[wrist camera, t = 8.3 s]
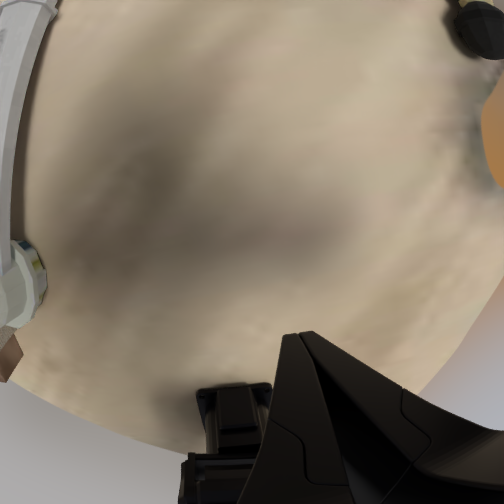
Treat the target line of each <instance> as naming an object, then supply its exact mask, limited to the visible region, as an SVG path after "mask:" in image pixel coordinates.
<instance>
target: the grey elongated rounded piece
mask: <svg viewBox="0 0 504 504" xmlns="http://www.w3.org/2000/svg"><path fill="white" fill-rule="evenodd" d="M56 3H57V0H6V1H3V2H2V3H1V5H0V328H1V327H3V326H4V325H7V326H11V327H15V328H21V327H22V326H24V325H25V324H26V323H28V322H29V321H31V320H32V319H33V318H34V316H35V312H36V309H37V307H38V306H39V305H40V304H41V303H42V298H43V295H44V292H45V289H46V288H47V280H46V269H43V267H42V265H41V262H40V260H39V258H38V255H37V251H36V250H35V249H34V248H32V247H31V246H30V245H29V244H28V243H27V242H26V241H20V240H10V204H11V186H12V174H13V164H14V155H15V147H16V141H17V134H18V128H19V123H20V117H21V112H22V108H23V103H24V99H25V94H26V90H27V86H28V82H29V79H30V75H31V71H32V68H33V65H34V61H35V58H36V55H37V52H38V49H39V46H40V43H41V40H42V37H43V35H44V32H45V29H46V27H47V24H49V23H50V22H51V21H52V19H53V18H54V17H55V16H56V14H57V12H58V10H57V9H56V8H55V5H56Z"/></svg>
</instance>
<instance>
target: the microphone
mask: <svg viewBox="0 0 504 504" xmlns="http://www.w3.org/2000/svg"><path fill="white" fill-rule="evenodd" d="M458 2H459V4H460V6H461V7H462V9H461V10H460V11H459V12H458V17H457V18H456V19H455V20H454V23H455V26H456V29H457V31H458V33H459V35H460V36H461V37H464V39H465V41H466V43H467V45H468V46H469V48H470V49H471V51H472V52H474V53H476V54H478V55H479V56H481V57H483V58H486V59H490V60H500V59H504V13H503V12H502V11H501V10H499V9H498V8H496V7H494V4H493V0H458Z"/></svg>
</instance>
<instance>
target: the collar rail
mask: <svg viewBox="0 0 504 504" xmlns="http://www.w3.org/2000/svg"><path fill="white" fill-rule="evenodd" d="M16 329H17V328H15V327H11V326H7V325H4V326H3V327H1V328H0V382H5V383H6V382H7V381H8V379H9V377H10V376H11V374H12V372H13V371H14V369H15V367H16V366H17V364H18V363H19V361H20V360H21V358H22V356H23V353H22V351H21V348H20V346H19V344H18V342H17V340H16V338H15V336H14V332H15V331H16Z"/></svg>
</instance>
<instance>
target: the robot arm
mask: <svg viewBox="0 0 504 504" xmlns="http://www.w3.org/2000/svg"><path fill="white" fill-rule="evenodd" d="M201 395H203V396H201ZM196 399H197V403H198V407H199V411H200V414H201V418H202V422H203V426H204V429H205V433H206V452H207V454H195V453H193V452H188V460H186V461H185V462H183V463H182V464H181V483H180V490H179V496H178V504H504V431H500V430H493V429H489V428H486V427H483V426H480V425H478V424H475V423H473V422H471V421H469V420H466V419H464V418H462V417H459V416H457V415H455V414H452V413H450V412H448V411H446V410H444V409H441V408H440V407H437V406H435V405H433V404H431V403H429V402H428V401H426V400H424V399H422V398H420V397H419V396H417V395H415V394H413V393H412V392H410V391H408V390H407V389H405V388H403V389H402V386H400V385H398V384H397V383H395V382H393V381H392V380H390V379H388V378H387V377H385V376H383V375H382V374H380V373H379V372H377V371H375V370H374V369H372V368H371V367H369V366H367V365H366V364H364V363H363V362H361V361H359V360H358V359H356V358H355V357H353V356H351V355H350V354H348V353H347V352H345V351H344V350H342V349H340V348H339V347H337V346H336V345H334V344H333V343H331V342H329V341H328V340H326V339H325V338H323V337H322V336H320V335H319V334H317V333H315V332H314V331H306V332H300V333H299V334H297V333H292V334H285V335H283V337H282V342H281V348H280V354H279V359H278V365H277V370H276V376H275V381H274V386H273V389H272V385H271V384H259V385H251V386H242V387H232V388H220V389H207V390H199V391H197V392H196Z"/></svg>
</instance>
